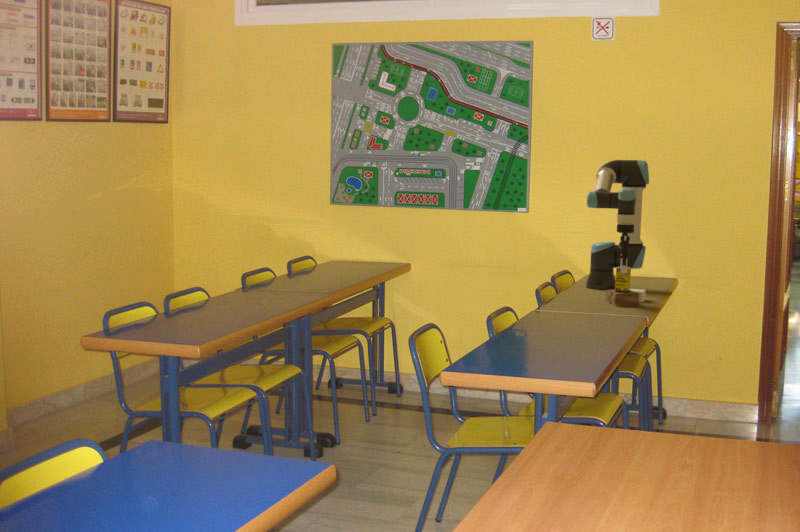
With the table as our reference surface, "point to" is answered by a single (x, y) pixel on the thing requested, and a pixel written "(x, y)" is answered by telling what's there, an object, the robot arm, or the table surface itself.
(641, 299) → the off-white block
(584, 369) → the table surface
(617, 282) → the supplement box
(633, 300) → the walnut block
